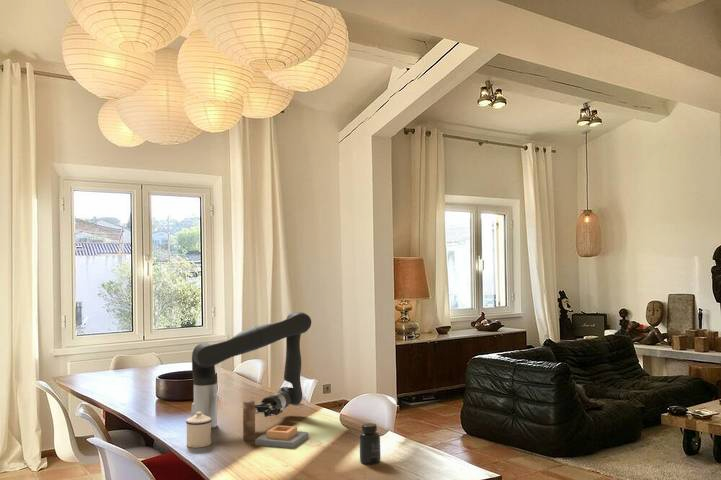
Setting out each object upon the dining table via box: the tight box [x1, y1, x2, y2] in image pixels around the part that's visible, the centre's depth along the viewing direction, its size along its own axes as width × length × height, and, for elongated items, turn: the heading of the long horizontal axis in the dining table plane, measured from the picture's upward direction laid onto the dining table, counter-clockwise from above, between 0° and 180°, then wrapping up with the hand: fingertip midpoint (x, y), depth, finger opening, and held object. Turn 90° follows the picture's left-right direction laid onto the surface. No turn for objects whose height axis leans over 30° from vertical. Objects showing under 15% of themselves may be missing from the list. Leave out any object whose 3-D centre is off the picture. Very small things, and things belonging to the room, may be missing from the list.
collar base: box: [254, 424, 309, 449], centre depth 227 cm, size 15×14×4 cm
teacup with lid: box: [185, 412, 212, 449], centre depth 225 cm, size 12×9×12 cm
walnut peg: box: [242, 399, 256, 442], centre depth 230 cm, size 4×4×14 cm
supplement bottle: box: [358, 422, 382, 466], centre depth 202 cm, size 7×7×12 cm
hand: (255, 413), depth 235 cm, fingers open, 8 cm apart
